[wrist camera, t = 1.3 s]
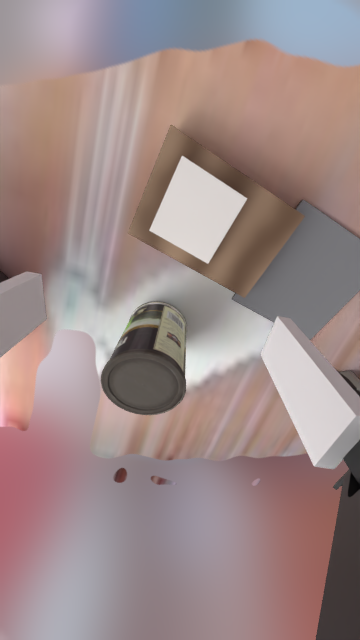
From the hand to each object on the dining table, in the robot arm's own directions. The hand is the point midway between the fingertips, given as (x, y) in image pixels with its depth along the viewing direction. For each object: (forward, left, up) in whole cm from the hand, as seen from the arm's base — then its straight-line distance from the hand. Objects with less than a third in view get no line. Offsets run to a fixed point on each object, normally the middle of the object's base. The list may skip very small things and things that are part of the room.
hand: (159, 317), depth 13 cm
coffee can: (+3, -14, -23) cm, 27 cm away
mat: (+19, +5, -22) cm, 30 cm away
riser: (+2, +5, -22) cm, 23 cm away
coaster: (0, +5, -18) cm, 19 cm away
